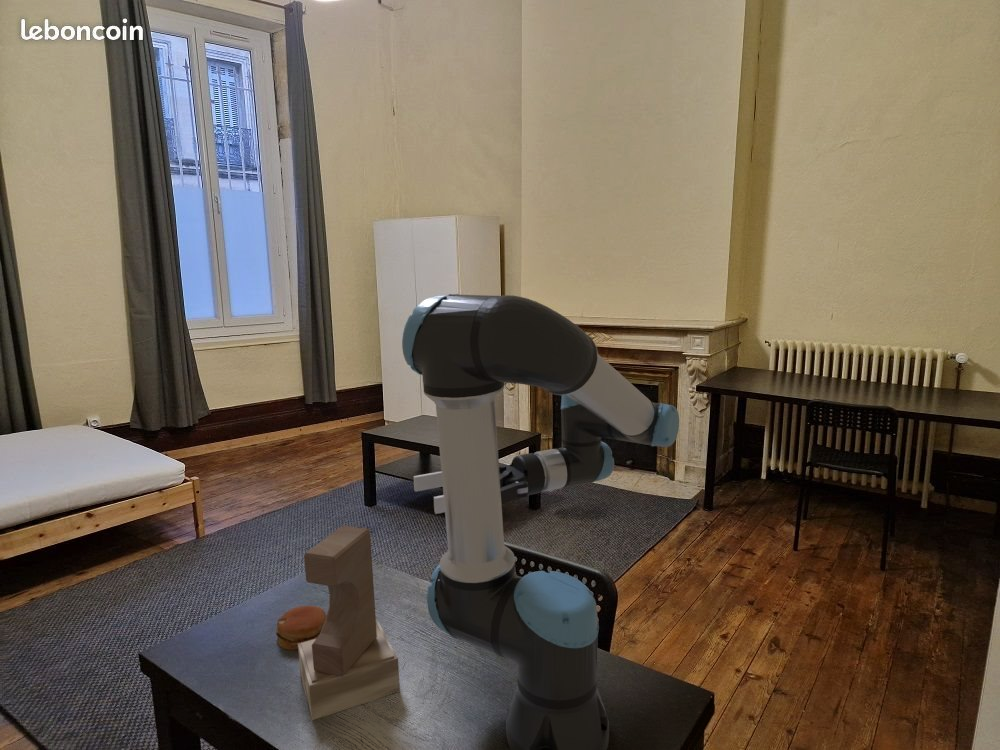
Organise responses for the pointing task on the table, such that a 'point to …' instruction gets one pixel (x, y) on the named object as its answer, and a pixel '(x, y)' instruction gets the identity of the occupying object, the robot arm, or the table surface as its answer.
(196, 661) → the table surface
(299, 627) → the burger
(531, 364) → the robot arm
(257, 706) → the table surface
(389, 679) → the plinth
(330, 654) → the decorative block
